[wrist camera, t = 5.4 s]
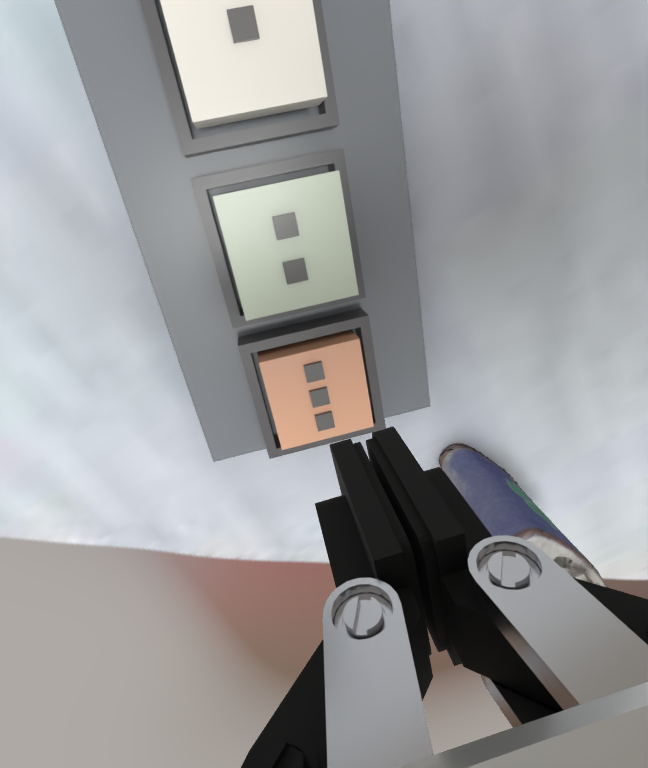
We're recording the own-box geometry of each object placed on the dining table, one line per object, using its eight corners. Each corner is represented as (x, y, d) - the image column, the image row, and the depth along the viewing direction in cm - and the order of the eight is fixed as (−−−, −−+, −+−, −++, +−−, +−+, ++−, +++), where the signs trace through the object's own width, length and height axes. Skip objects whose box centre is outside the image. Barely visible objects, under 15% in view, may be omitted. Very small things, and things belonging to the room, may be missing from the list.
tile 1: (292, -53, 17) (300, -86, 15) (318, 105, 19) (328, 95, 17) (154, -30, 16) (143, -61, 14) (196, 129, 18) (192, 121, 16)
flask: (430, 461, 31) (521, 587, 21) (462, 430, 30) (571, 545, 20) (506, 525, 34) (614, 658, 25) (536, 499, 34) (658, 624, 24)
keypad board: (370, -62, 19) (392, -103, 17) (420, 395, 29) (440, 417, 26) (59, -11, 18) (28, -46, 16) (214, 448, 27) (212, 476, 25)
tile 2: (329, 172, 20) (340, 169, 18) (348, 286, 22) (359, 295, 20) (214, 195, 19) (212, 196, 17) (245, 309, 21) (246, 322, 19)
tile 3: (350, 327, 24) (360, 339, 22) (364, 410, 26) (374, 428, 24) (256, 349, 24) (258, 364, 22) (278, 431, 26) (282, 452, 24)
